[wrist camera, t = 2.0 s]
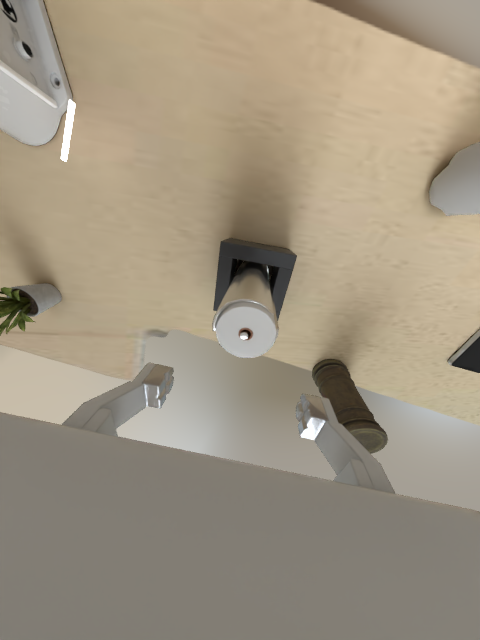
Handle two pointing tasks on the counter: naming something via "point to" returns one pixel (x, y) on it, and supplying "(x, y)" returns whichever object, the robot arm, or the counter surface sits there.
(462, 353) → the smartphone
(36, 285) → the house plant
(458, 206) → the bottle
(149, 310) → the counter surface
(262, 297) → the silver tall cylinder
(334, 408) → the container
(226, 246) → the box
